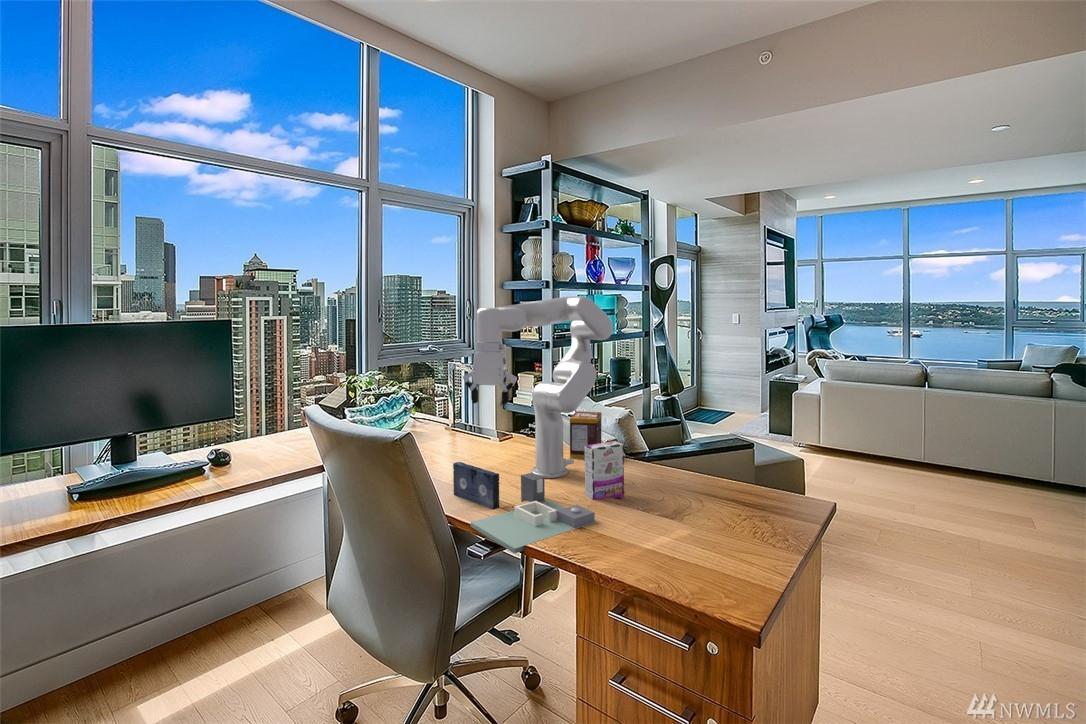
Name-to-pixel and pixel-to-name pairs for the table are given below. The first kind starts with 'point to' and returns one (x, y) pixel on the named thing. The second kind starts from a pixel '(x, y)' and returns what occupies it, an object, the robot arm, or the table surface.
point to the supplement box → (584, 432)
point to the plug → (532, 488)
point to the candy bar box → (604, 470)
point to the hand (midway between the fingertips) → (489, 403)
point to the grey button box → (575, 516)
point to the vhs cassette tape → (476, 485)
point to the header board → (523, 525)
